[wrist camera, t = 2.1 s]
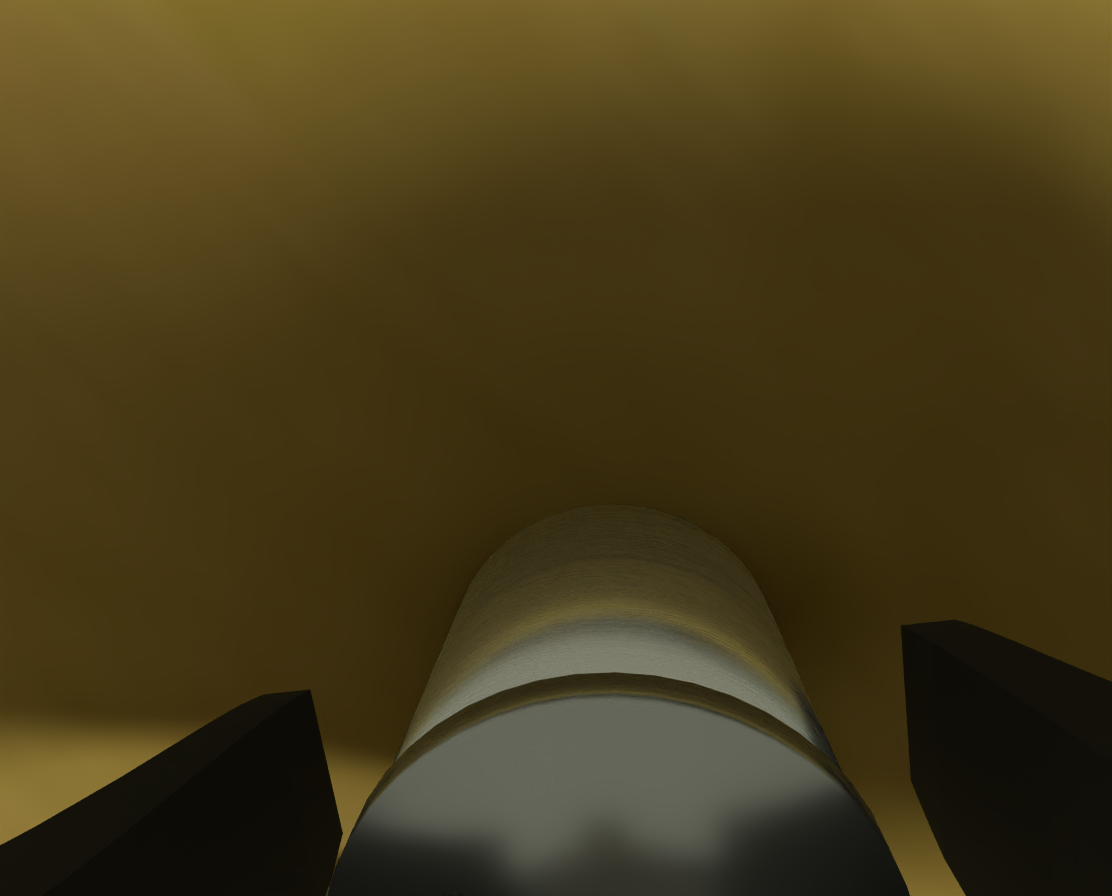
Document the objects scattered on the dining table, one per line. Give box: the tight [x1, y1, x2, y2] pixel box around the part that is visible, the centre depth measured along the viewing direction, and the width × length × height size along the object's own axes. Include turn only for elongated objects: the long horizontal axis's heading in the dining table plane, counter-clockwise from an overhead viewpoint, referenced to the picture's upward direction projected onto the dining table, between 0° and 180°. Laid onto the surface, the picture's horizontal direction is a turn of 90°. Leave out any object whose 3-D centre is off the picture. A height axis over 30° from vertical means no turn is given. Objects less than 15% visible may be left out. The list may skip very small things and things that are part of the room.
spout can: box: [327, 504, 910, 896], centre depth 9 cm, size 5×5×6 cm
